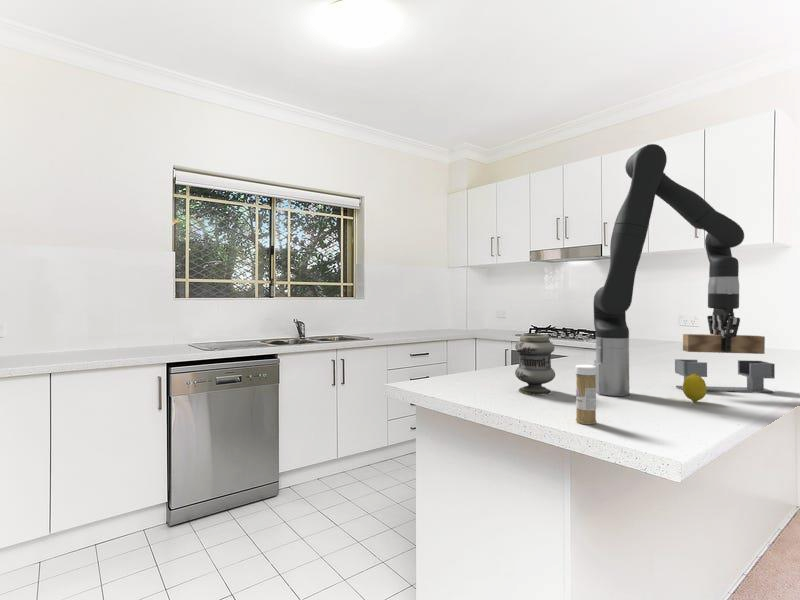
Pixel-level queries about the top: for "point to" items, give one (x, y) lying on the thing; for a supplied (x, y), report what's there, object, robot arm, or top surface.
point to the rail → (714, 343)
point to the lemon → (694, 387)
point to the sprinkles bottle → (586, 394)
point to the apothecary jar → (535, 363)
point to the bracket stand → (750, 369)
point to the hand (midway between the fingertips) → (722, 350)
